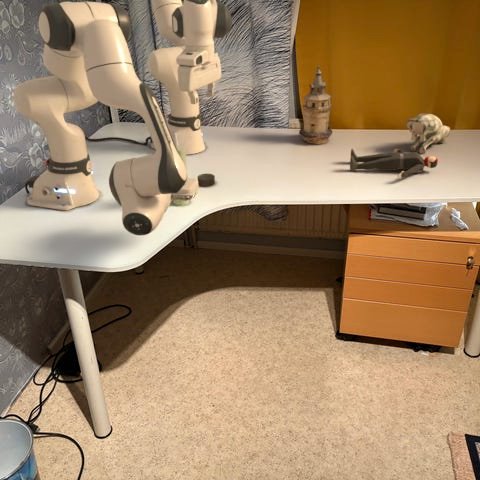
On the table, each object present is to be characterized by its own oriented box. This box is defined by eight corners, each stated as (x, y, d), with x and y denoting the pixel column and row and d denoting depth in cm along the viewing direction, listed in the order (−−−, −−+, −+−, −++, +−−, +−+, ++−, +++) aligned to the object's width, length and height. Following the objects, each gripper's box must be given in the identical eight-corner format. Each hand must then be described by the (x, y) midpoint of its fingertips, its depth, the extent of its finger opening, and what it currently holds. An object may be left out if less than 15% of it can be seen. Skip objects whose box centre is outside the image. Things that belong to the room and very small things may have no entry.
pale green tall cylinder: (191, 203, 169) (187, 149, 161) (177, 206, 168) (172, 152, 159) (185, 198, 173) (182, 144, 164) (171, 201, 171) (167, 147, 163)
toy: (351, 141, 203) (434, 141, 197) (350, 156, 206) (432, 157, 200) (349, 166, 181) (443, 167, 175) (349, 183, 184) (441, 185, 178)
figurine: (436, 165, 204) (461, 137, 213) (424, 121, 195) (451, 94, 204) (414, 164, 211) (439, 137, 220) (401, 122, 202) (428, 96, 211)
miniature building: (320, 132, 228) (325, 59, 214) (338, 142, 217) (344, 66, 203) (293, 137, 224) (296, 63, 209) (310, 147, 213) (314, 69, 198)
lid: (217, 184, 182) (217, 177, 181) (202, 188, 180) (202, 181, 179) (209, 178, 187) (209, 172, 186) (194, 182, 184) (194, 175, 183)
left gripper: (193, 187, 137) (203, 167, 149) (116, 183, 140) (132, 163, 152) (194, 209, 141) (203, 187, 153) (118, 205, 143) (134, 184, 155)
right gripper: (208, 48, 172) (210, 91, 179) (172, 59, 156) (176, 106, 163) (225, 49, 169) (226, 93, 176) (191, 61, 153) (193, 109, 160)
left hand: (167, 175), depth 152 cm, fingers open, 8 cm apart
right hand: (202, 100), depth 169 cm, fingers open, 8 cm apart
